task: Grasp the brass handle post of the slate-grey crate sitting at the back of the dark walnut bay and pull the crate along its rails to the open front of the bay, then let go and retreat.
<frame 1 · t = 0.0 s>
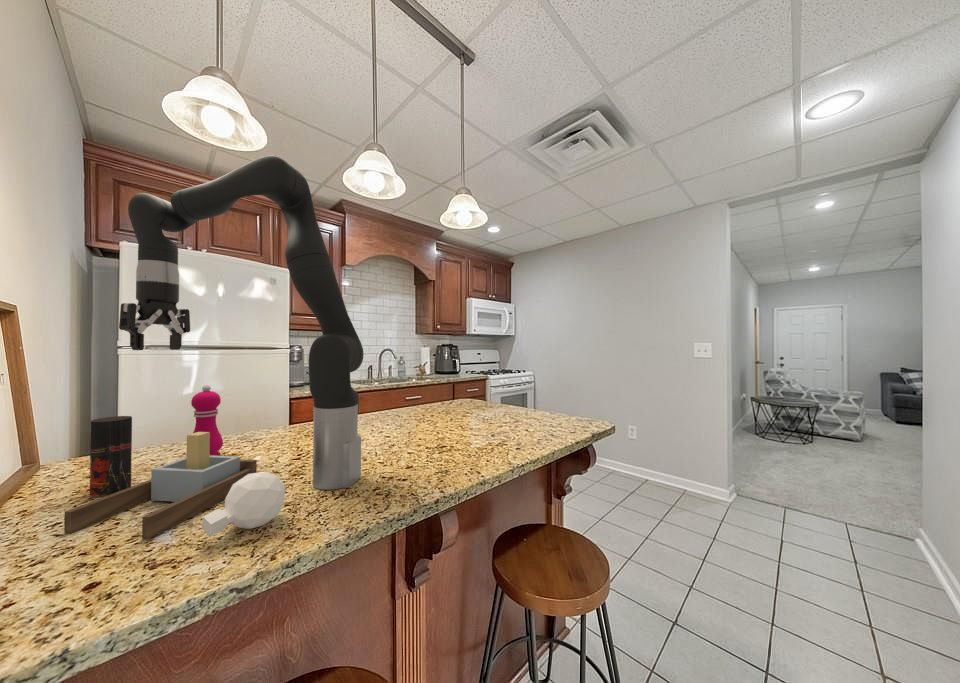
hand: (157, 349, 82), 29 cm above the worktop, fingers open, 8 cm apart
pepper mill: (205, 462, 90), on the worktop
bay: (173, 504, 66), on the worktop
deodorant: (110, 491, 72), on the worktop
perfume bottle: (245, 529, 58), on the worktop
crate: (198, 462, 71), point 6 cm above the worktop, slide at 0.0 cm
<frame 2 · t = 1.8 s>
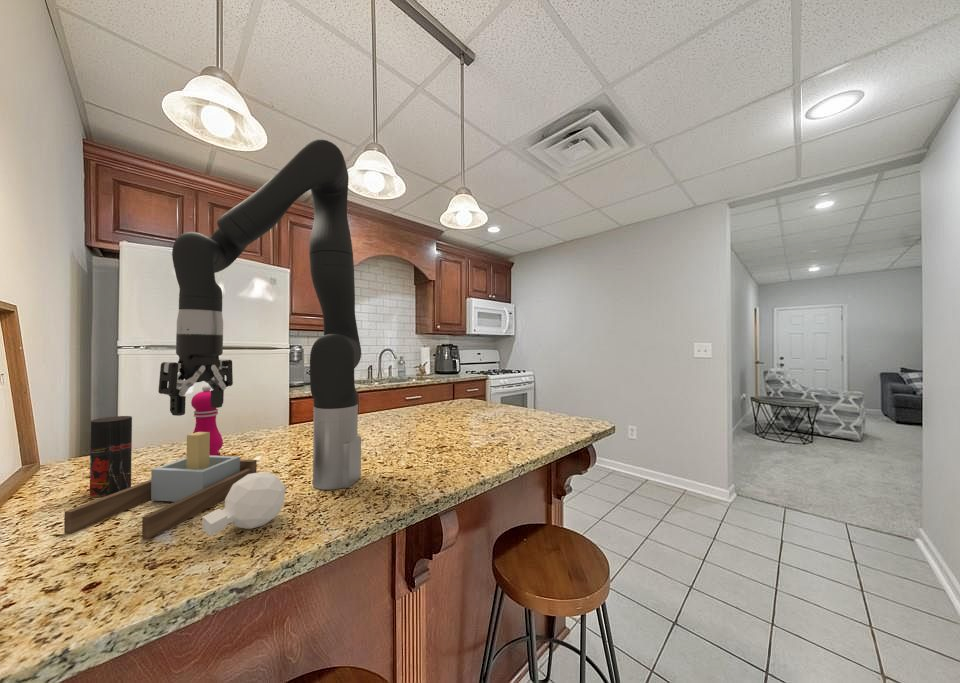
hand: (198, 411, 71), 17 cm above the worktop, fingers open, 8 cm apart
nothing on the worktop moved.
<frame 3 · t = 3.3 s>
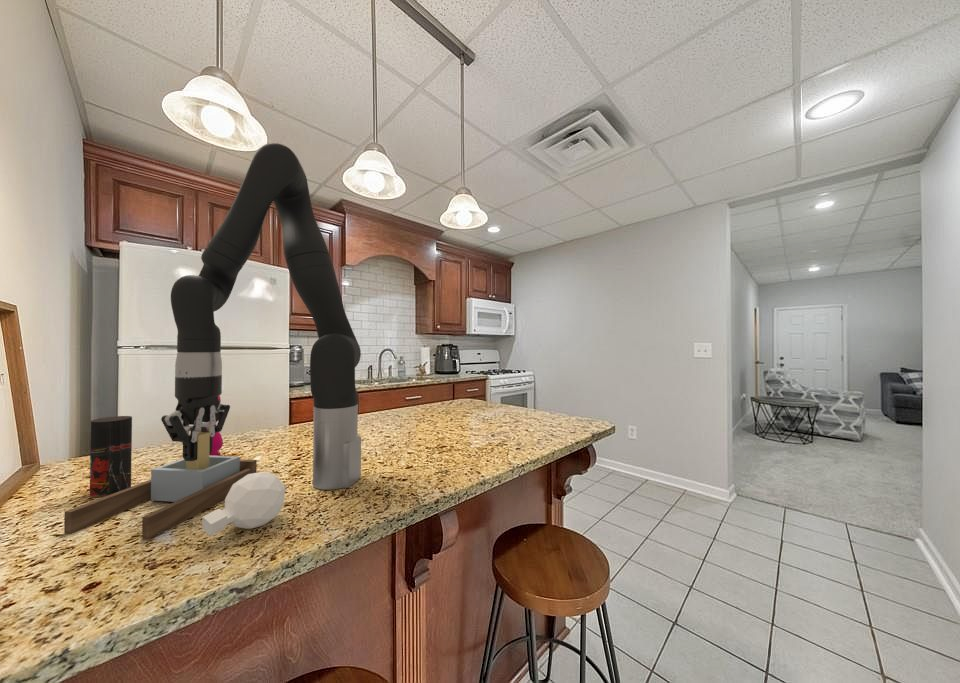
hand: (198, 457, 71), 7 cm above the worktop, fingers closed on crate, 2 cm apart
crate: (197, 462, 71), point 6 cm above the worktop, slide at 0.0 cm, touching gripper
everything else where it was.
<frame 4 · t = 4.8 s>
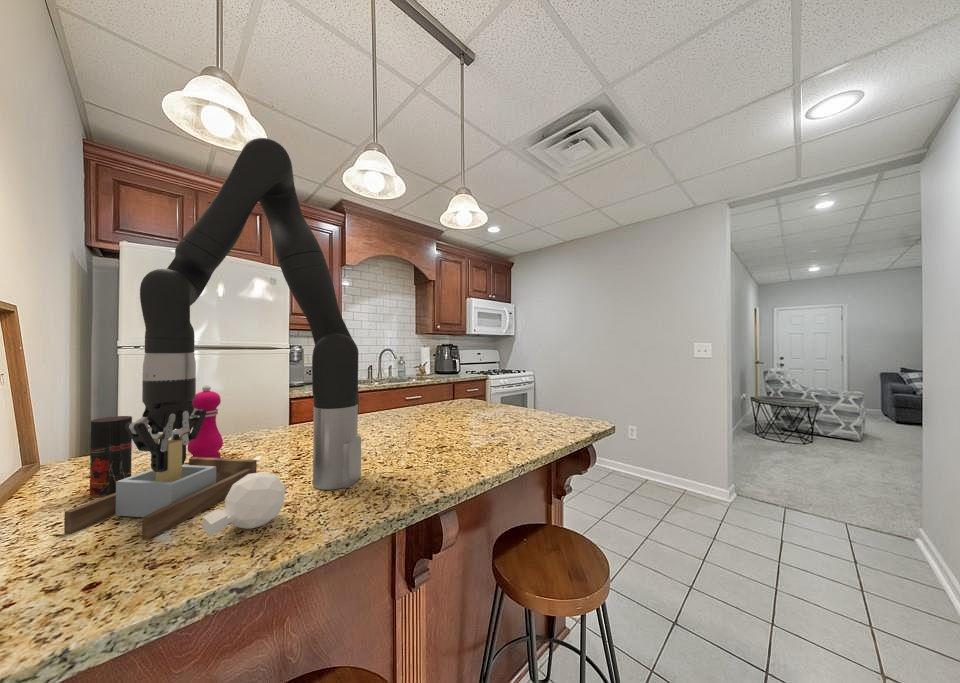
hand: (169, 467, 65), 7 cm above the worktop, fingers closed on crate, 2 cm apart
crate: (169, 473, 65), point 6 cm above the worktop, slide at 6.0 cm, touching gripper
everything else where it was.
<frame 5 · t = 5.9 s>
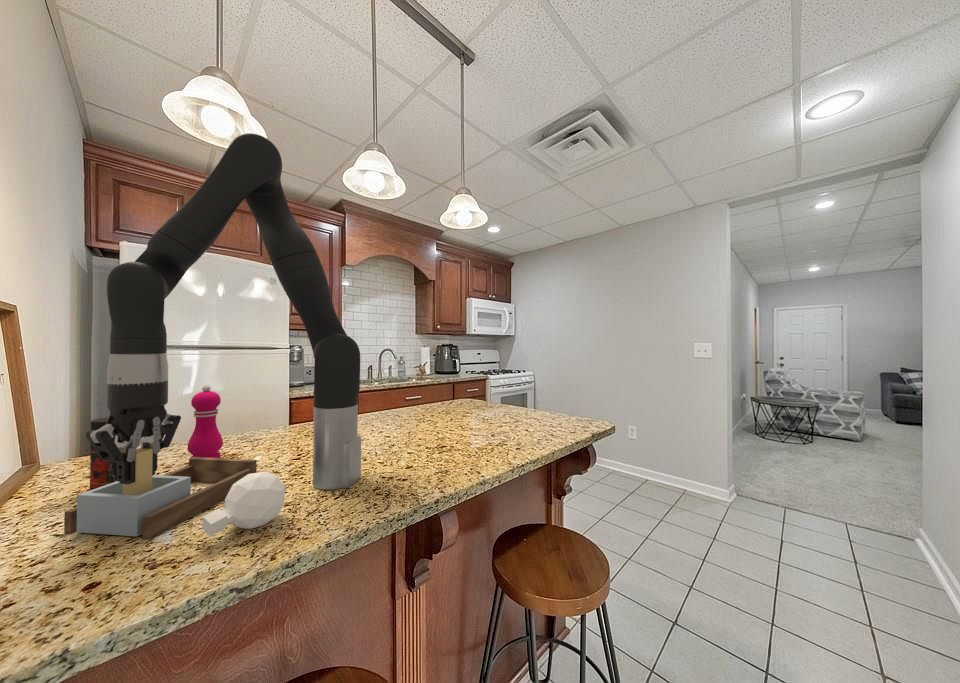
hand: (137, 478, 60), 7 cm above the worktop, fingers closed on crate, 2 cm apart
crate: (137, 485, 60), point 6 cm above the worktop, slide at 11.4 cm, touching gripper
everything else where it was.
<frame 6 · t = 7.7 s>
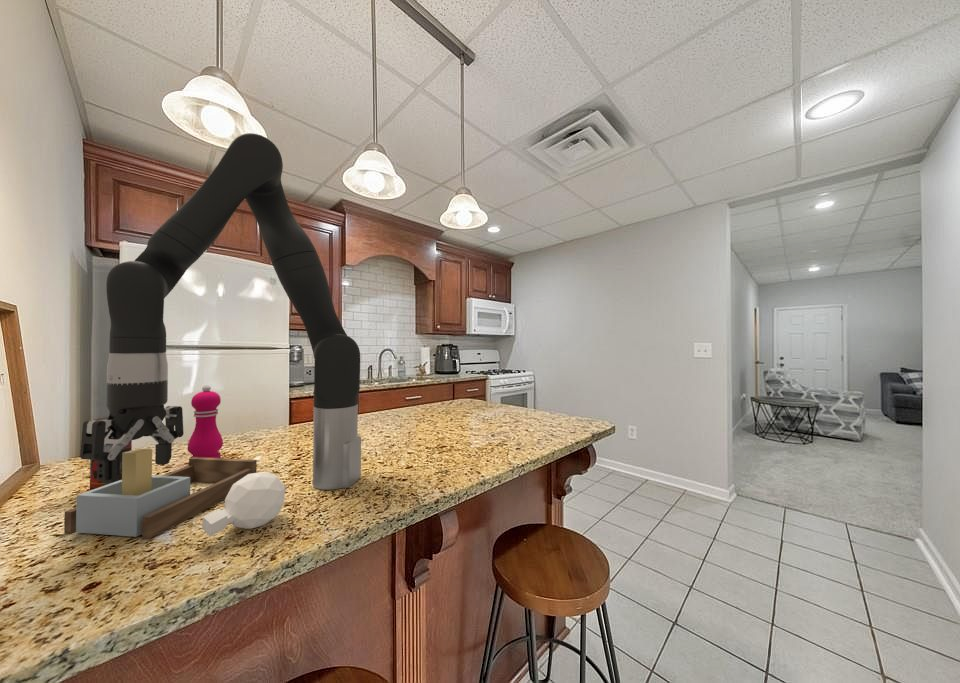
hand: (137, 472, 60), 9 cm above the worktop, fingers open, 8 cm apart
crate: (137, 485, 60), point 6 cm above the worktop, slide at 11.5 cm
everything else where it was.
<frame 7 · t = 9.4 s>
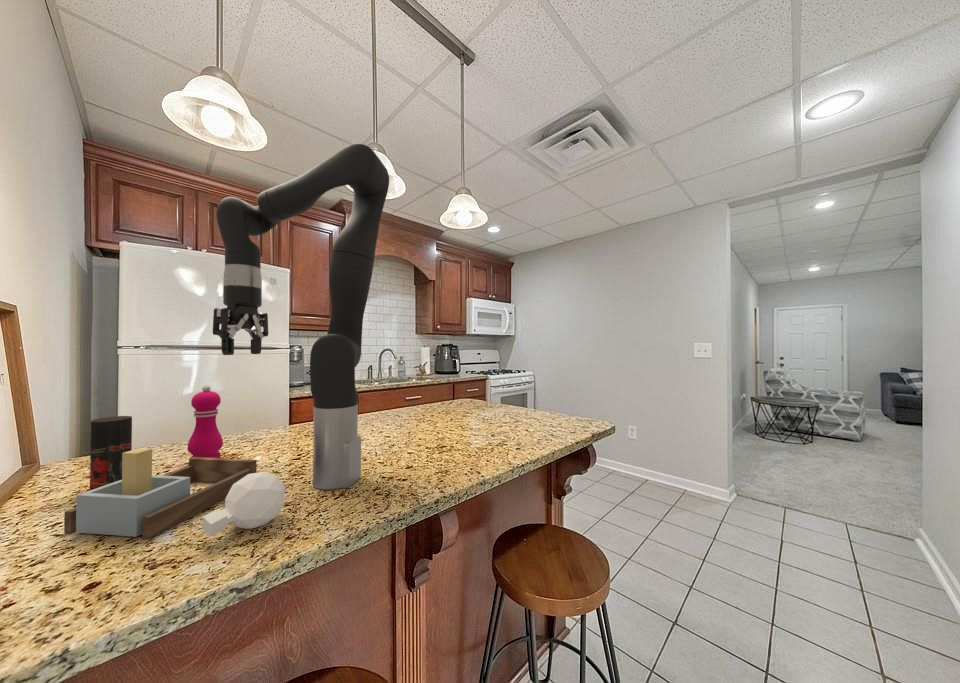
hand: (242, 354, 82), 28 cm above the worktop, fingers open, 8 cm apart
nothing on the worktop moved.
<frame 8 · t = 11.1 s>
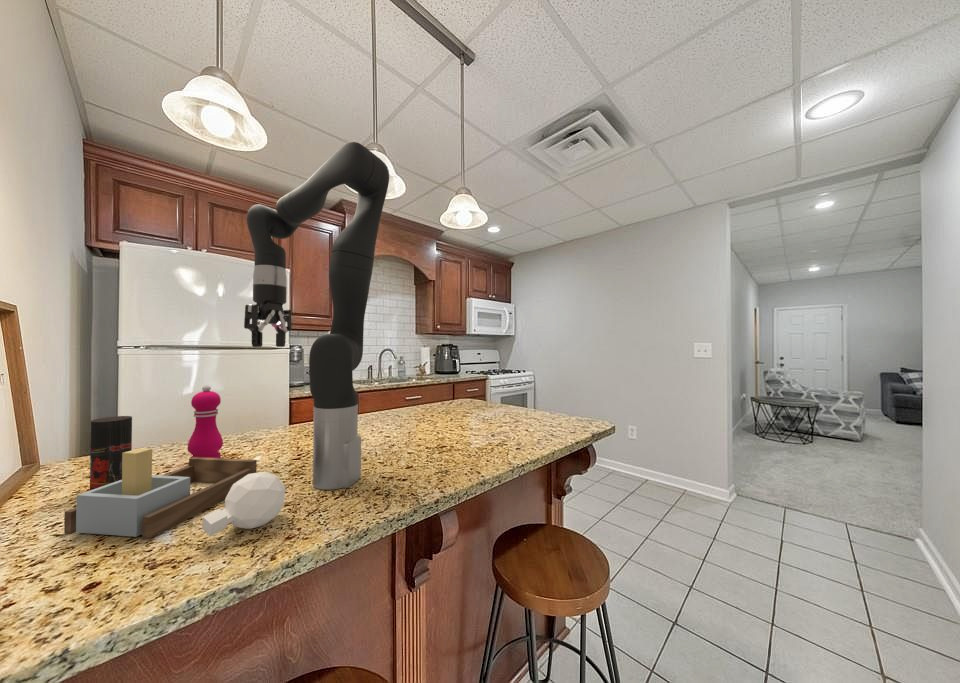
hand: (269, 346, 90), 30 cm above the worktop, fingers open, 8 cm apart
nothing on the worktop moved.
at the end: crate slide at 11.5 cm; the gripper is holding nothing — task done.
